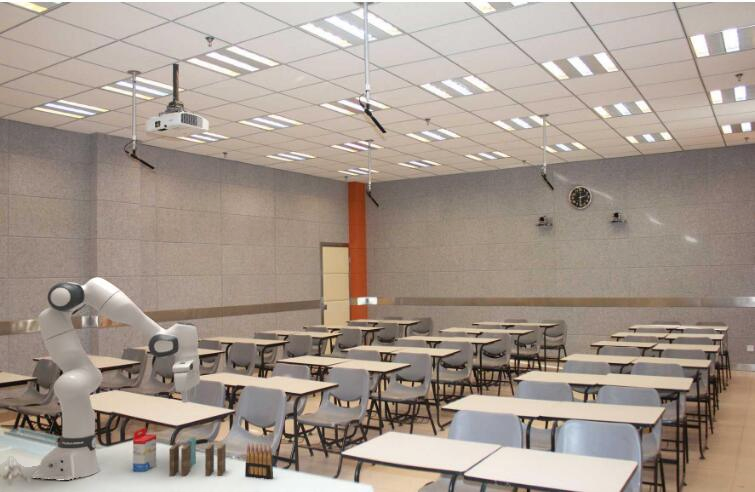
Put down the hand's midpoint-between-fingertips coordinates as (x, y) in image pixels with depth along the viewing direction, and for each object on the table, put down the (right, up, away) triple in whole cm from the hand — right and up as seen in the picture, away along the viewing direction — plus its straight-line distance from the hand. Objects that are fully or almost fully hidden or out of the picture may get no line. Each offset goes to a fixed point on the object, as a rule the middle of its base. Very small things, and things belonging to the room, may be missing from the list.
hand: (189, 399), depth 244 cm
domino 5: (+15, -25, -10) cm, 31 cm away
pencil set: (+30, -25, -15) cm, 41 cm away
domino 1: (-3, -25, -10) cm, 27 cm away
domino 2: (+2, -25, -10) cm, 27 cm away
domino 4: (+11, -25, -10) cm, 29 cm away
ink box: (-16, -26, -3) cm, 30 cm away
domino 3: (+1, -25, 0) cm, 25 cm away
